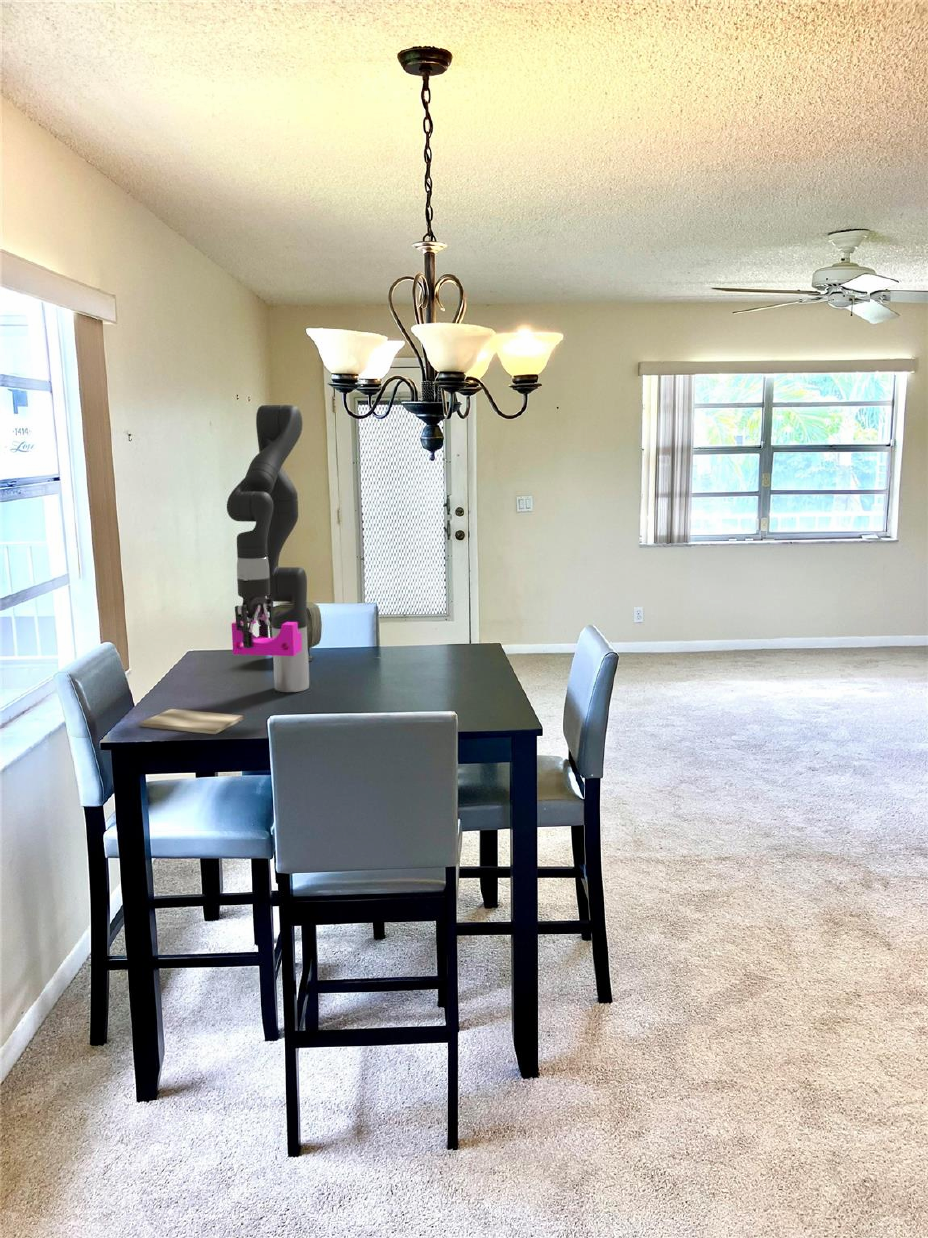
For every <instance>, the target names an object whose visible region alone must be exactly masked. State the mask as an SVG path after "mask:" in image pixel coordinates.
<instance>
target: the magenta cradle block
mask: <svg viewBox="0 0 928 1238" xmlns="http://www.w3.org/2000/svg"><path fill="white" fill-rule="evenodd" d="M240 623H241V625H242V621H240ZM231 639H232V654H233V655H239V656H240V655H243V656H295V655H296V654H297V653H299V652H300V651H302V640H301V632H298V622H286V623H284V624H282V625H281V630H280V633H279V634H278V636H277V637H275V638H270V637H269V638H267V637H263V636H261V635H260V636H259V635H258V636H256V635H254V634H253V647H251V648H245V647H244V646H243V632H241V631H237V629H236V621H234V622H232V623H231Z"/></svg>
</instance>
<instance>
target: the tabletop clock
mask: <svg viewBox="0 0 928 1238" xmlns="http://www.w3.org/2000/svg"><path fill="white" fill-rule="evenodd" d="M292 607H293V602H281V603H279V604H277V605H273V617H274V616H275V615H277V614H280V613H283V612H286V611H288V610H289V609H291V608H292ZM322 623H323V621H322V614H321V609H320V608H319V605H318V604H316V603H314V602H309V601H307V646H308V659H309V662H311V661H313V660H314V658H313V656H312V655H311V653H310V652H311V651H310V649H311V648H313V647H315V646H318V645H319V644H320V642H321V640H322V631H323V629H322V628H323V626H322V625H323V624H322ZM268 632H269V638H273V635H272V622H270V625H269V626H268Z"/></svg>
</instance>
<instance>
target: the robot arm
mask: <svg viewBox="0 0 928 1238" xmlns="http://www.w3.org/2000/svg"><path fill="white" fill-rule="evenodd" d="M255 418H256V419H255V426H256V428H255V429H256V435H257V436H256V437H257V444H258V445H257V446H258V451H259V452H258V454H256V455H255V457H254V458H253V459H252V460H251V461H250V463H249V467H248V469H247V471H246V474H245V477H244V478H243V479H242V480H240V482H239V483H238V484H237V485H236V486H235V487H234V489H233V490H232V491H231V493H230V494H229V496H228V499H227V501H226V511H227V514H228V517H230V519H231V520H233V521H235V522H242V523H243V522H245V523H246V522H251V523H253V522H255V525H254V526H253V529H251V530H248V531H244V532H240V533H238V534H237V536H236V555H237V558H236V559H237V562H236V578H237V579H236V581H237V596H239V597H241V598H242V604H241V605H235V606H234V615H235V622H236V629H237V631H241V632H243V643H242V644H243V646H244V647H245V648H251V647H253V635H254V634H253V628H254V626H255V624H256V623H258V636H260V635H261V636H263V637H267V638H270V633H269V625H270V622H272V635H273V638H275V637H277V636H278V634H279V633H280V630H281V625H282V624H284V623H286V622H298V632H301V640H302V651H300V652H299V653H297V654H296V655H295V656H273V657H272V658H273V662H272V663H273V684H274V685H273V687H274V690H275V691H276V690H277V692H281V693H296V692H302V691H306V690H308V689H309V687H310V668H309V667H310V665H309V664H310V663H309V662H310V661H309V659H308V657H309V656H308V646H307V602H308V601H307V599H308V598H307V596H308V595H307V594H308V577H307V573H306V570H305V569H304V568H302V567H299V566H298V567H295V566H289V567H288V566H283V567H282V566H279V561H280V555H281V552H282V549H283V547H284V545H285V543H286V541H287V540H288V538H289V536H290V535H291V533H292V531H293V530H294V529H295V526H296V524H297V522H298V520H299V500H298V499H299V498H298V497H299V496H298V495H299V494H298V492H297V488H296V486H295V485H294V483H293V482H292V480H291V479H290V476H288V474H287V473H286V471H285V469H284V468H283V467H282V466H283V464H284V463H285V461H286V460H287V458H288V457H289V455H291V452H292V451H293V449H294V447H295V446H296V444H297V443H298V441H299V439H300V437H301V434H302V431H303V417H302V413H301V411H300V409H299V408H298V406H296V405H291V404H265V405H264V404H263V405H260V406H259V407H258V409H257V412H256V417H255ZM276 602H277V603H278V602H281V603H285V602H293V607H292V608H291V609H289V610H288V611H286V612H283V613H280V614H277V615H275V616H274V617H273V607H274V603H276ZM240 621H242V625H241V623H240Z"/></svg>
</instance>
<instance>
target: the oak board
mask: <svg viewBox="0 0 928 1238" xmlns="http://www.w3.org/2000/svg"><path fill="white" fill-rule="evenodd" d="M239 721H240V722H241V721H244V716H243V715H239V714H229V713H219V712H218V713H217V712H207V711H197V710H188V709H179V708H178V709H176V708H170V709H167V710H166V711H162V712H161V713H158V714H157V715H153V716H152V717H149V718H147V719H145V720H143V721H140V722H139V725H140V727H143V728H153V729H160V730H161V729H162V730H170V731H171V730H172V731H179V732H181V731H182V732H189V733H190V732H191V733H200V734H208V735H210V734H211V735H216V734H219V733H220V732H221V731H224V730H226V729H228V728H229V727H232V726H233V725H236V724H237V723H239Z"/></svg>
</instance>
